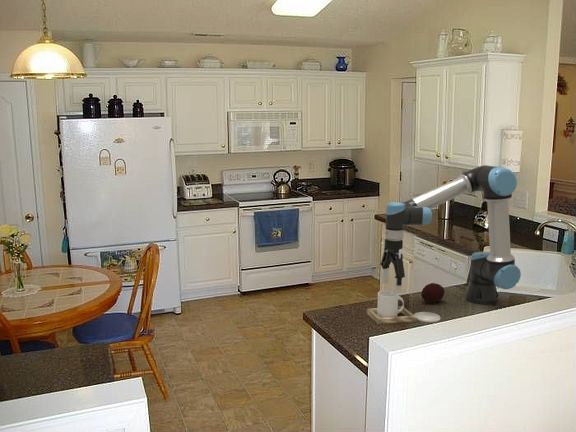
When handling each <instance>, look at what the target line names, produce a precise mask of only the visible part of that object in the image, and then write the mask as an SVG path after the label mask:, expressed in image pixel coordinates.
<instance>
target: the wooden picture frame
mask: <svg viewBox="0 0 576 432" xmlns="http://www.w3.org/2000/svg"><path fill="white" fill-rule="evenodd" d="M402 306H403V305H402ZM402 306H398V310H399V309H401V308H402ZM400 313H401V314H403V315H401V316H400V315H399V316H397V317H386V318H380V317H379V316H378V315H377V307H374V308H372V307H371V308H366V314H367V315H368V317H370V318H371V319H372V320H373V321H374V322H376V324H377V325H378V324H379V325H381V324H394V323H396V324H397V323H407V322H408V323H409V322H410V323H411V322H416V321H417V320H416V316H415V315H414V313H412V312H411V311H409V310H408V309H407V308H405V306H404V307H403V310H402V311H401V312H400Z"/></svg>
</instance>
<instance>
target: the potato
mask: <svg viewBox="0 0 576 432" xmlns="http://www.w3.org/2000/svg"><path fill="white" fill-rule="evenodd" d="M445 293H446V291H445V288H444V287H443V285H441V284H439V283H435V282H431V283H428V284H426V285H425V286H423V288H422V289H421V298H422V300H423V301H425V302H427V303H437V302H440V301H441V300H442V299H444V296H445Z"/></svg>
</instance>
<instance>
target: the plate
mask: <svg viewBox="0 0 576 432" xmlns="http://www.w3.org/2000/svg"><path fill="white" fill-rule="evenodd" d="M413 315H415V316H416V321H419V322H423V323H430V324H431V323H437V322H440V321H441V316H440V315H439V314H437V313H434V312H429V311H419V312H415V313H413Z"/></svg>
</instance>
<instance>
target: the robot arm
mask: <svg viewBox="0 0 576 432" xmlns="http://www.w3.org/2000/svg"><path fill="white" fill-rule="evenodd" d="M517 185H518V181H517V177H516V174H515V173H514V172H513V171H512V170H511V169H509V168H506V167H503V166H496V165H495V166H494V165H487V164H486V165H480V166H477V167H475V168H472V169H469V170H468V171H465V172H462V173H461V174H459V175H458V177H457V178H456V179H453V180H451V181H449V182H446V183H444V184H442V185H439V186H438V187H435V188H433V189H431V190H429V191H426V192H424V193H422V194H420V195H417V196H415V197H413V198H410V199H408V200H406V201H398V202H397V201H393V202H392V201H390V202H387V205H386V207H385V208H386V210H385V230H384V231H383V233H384V235H385V236H384V238H385V239H384V248H383V254H382V258H381V261H380V266H381V268H382V276H381V284H383V285H385V284H389V281H390V279H389V276H390V265H391V263H392V265H393V269H394V273H395V276H394V291H393V292H394V293H398V294H401V293H402V285H403V284H402V283H403V278H405V266H404V260H403V259H404V257H403V253H400V250H402V249H403V246H404V240H403V239H404V231H405V230H404V228H405V226H424V225H429V224H431V222H432V220H433V219H432V218H433V213H432V209H433V208H435V207H438V206H440V205H442V204H445V203H447V202H448V201H451V200H453V199H456V198H457V197H460V196H462V195H464V194H467V195H470V194H471V193H475V192H482V198H483V200H484V201H485V202H486V203H487V218H488V219H487V221H488V237H489V240H488V241H489V242H488V243H489V251H478V252H476V251H475V252H473V253H472V254H471V257H470V269H469V270H470V273H469V275H470V276H469V283H468V285H467V288H466V290H465V293H464V299H465V300H466V301H468V302H470V303H472V304H478V305H486V306H487V305H488V306H489V305H490V304H491V305H495V304H498V303H499V302H500V301H499V299H500V298H499V293H498V290H497V288H499V289H503V290H510V289H513V288H514V287H516V285H517V284H518V283H519V281H520V279H521V275H522V273H521V270H520V268H519V267H518V266H517V265H516V261H515V256H514V255H513V254H512V251H511V230H510V228H511V227H510V213H509V212H510V211H509V210H510V209H509V201H510V200H511V199H512V198H513V193H514V191H515V190H516V188H517Z"/></svg>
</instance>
